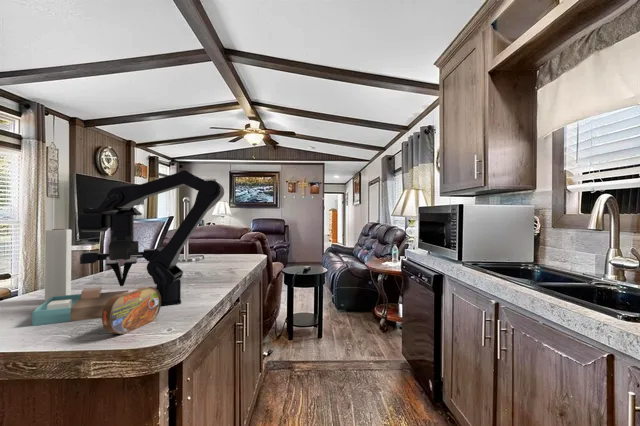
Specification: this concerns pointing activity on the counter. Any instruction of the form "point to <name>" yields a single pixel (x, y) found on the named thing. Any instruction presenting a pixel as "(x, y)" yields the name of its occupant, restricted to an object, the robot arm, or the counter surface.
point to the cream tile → (59, 304)
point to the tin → (131, 310)
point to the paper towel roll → (57, 262)
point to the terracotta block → (91, 293)
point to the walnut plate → (91, 306)
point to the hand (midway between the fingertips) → (121, 286)
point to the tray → (53, 311)
